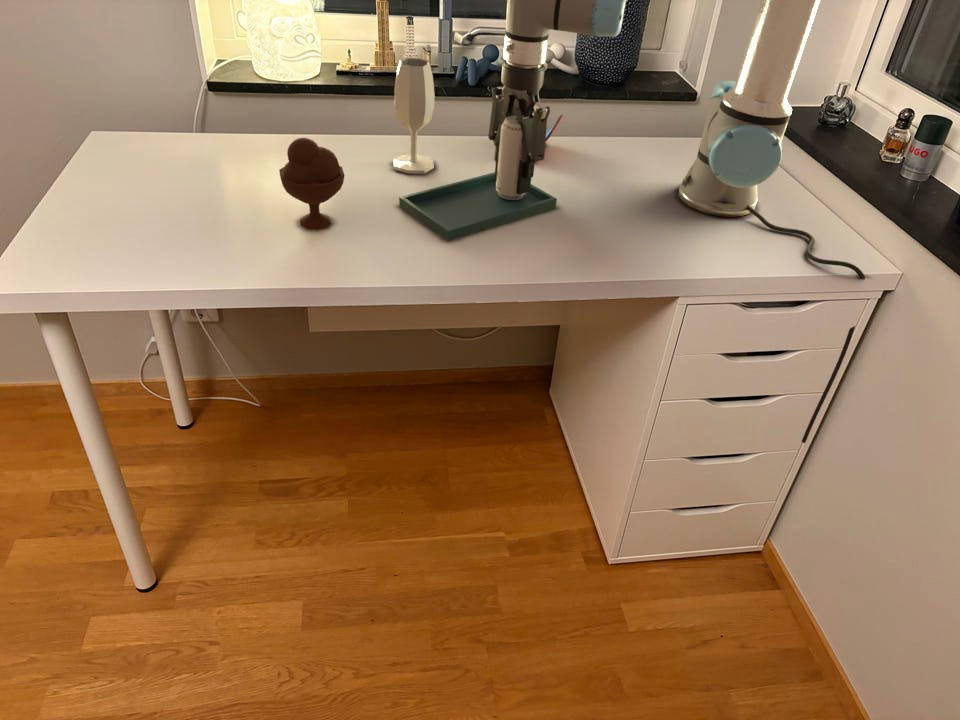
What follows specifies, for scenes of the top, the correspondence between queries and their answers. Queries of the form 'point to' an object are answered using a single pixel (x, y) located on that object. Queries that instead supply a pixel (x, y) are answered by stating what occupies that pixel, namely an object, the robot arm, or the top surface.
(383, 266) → the top surface
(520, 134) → the energy drink can
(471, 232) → the tray
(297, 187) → the ice cream bowl
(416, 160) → the wineglass
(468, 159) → the top surface
